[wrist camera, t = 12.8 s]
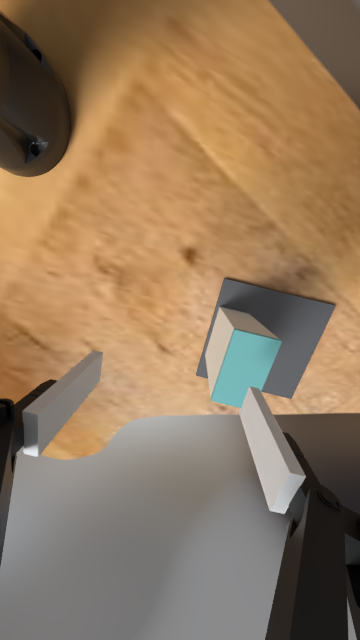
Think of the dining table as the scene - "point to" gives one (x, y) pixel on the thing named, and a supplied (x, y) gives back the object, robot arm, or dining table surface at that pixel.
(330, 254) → the dining table surface
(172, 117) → the dining table surface
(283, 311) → the rubber mat
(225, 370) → the grey teal block
